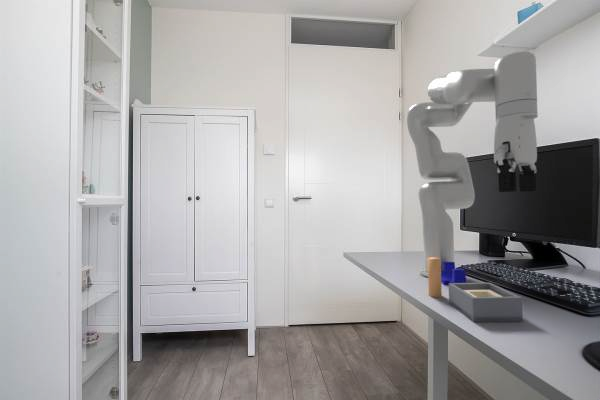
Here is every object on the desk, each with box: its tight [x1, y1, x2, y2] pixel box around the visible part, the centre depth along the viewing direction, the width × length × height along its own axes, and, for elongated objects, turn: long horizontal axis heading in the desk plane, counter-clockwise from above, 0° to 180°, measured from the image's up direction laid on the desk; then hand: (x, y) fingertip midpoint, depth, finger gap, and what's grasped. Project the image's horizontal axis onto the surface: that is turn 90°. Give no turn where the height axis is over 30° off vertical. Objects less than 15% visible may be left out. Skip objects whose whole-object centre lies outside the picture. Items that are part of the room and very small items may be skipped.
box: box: [448, 282, 524, 323], centre depth 72 cm, size 12×10×5 cm
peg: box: [427, 257, 443, 298], centre depth 85 cm, size 3×3×10 cm
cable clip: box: [441, 261, 467, 286], centre depth 95 cm, size 12×4×6 cm, turn 169°
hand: (518, 191), depth 69 cm, fingers open, 9 cm apart
